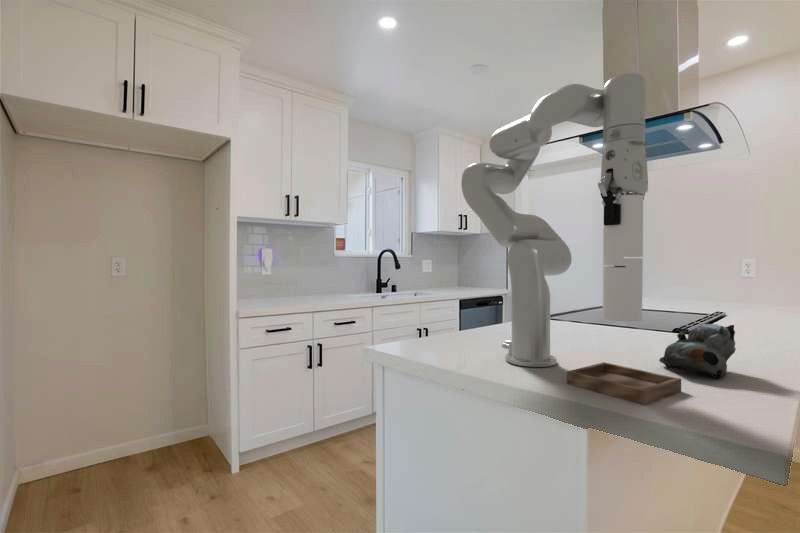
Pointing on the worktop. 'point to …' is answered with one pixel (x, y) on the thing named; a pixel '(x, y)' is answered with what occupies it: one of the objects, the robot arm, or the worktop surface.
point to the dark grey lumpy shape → (702, 350)
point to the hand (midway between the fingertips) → (622, 225)
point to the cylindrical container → (624, 263)
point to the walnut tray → (625, 382)
